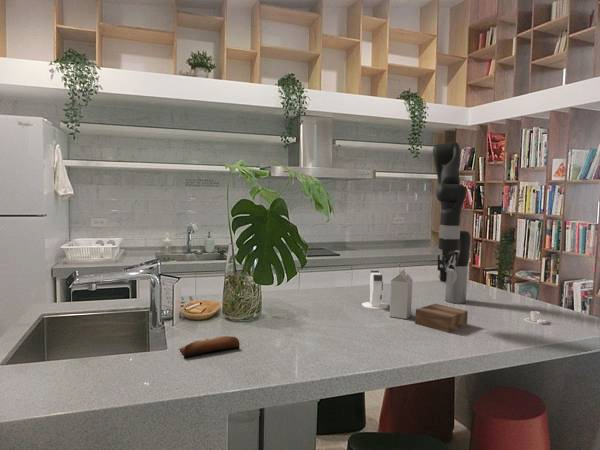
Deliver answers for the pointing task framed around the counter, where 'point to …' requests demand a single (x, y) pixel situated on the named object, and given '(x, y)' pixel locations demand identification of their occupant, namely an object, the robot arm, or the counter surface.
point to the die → (449, 276)
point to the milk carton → (401, 296)
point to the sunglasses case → (209, 345)
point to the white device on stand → (375, 292)
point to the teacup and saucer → (536, 318)
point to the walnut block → (441, 317)
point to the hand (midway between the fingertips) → (447, 280)
